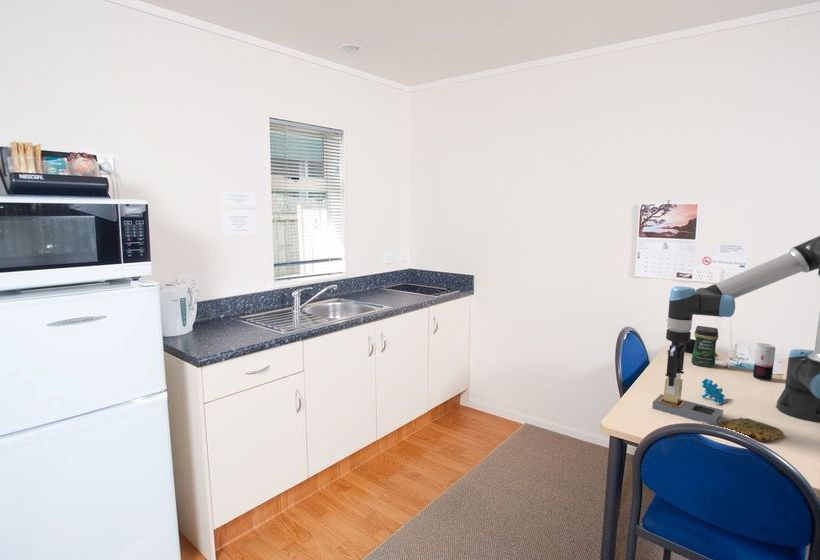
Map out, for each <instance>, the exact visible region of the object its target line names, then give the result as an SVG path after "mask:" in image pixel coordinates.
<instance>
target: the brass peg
mask: <svg viewBox="0 0 820 560" xmlns="http://www.w3.org/2000/svg"><path fill="white" fill-rule="evenodd" d="M667 382H668V377H667V378H665V380H664V390H663V391H664V392H663V395H664V400H663V402H666V403H670V404H673V405H677V406H679V405H680V402H681V400H682V391H683V382H684V381H683V379H682V378H681V379H678V378H677V382H676V392H675V395H671V394H667V393H666V392H667Z"/></svg>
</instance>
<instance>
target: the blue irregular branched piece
mask: <svg viewBox="0 0 820 560" xmlns="http://www.w3.org/2000/svg"><path fill="white" fill-rule="evenodd" d="M701 383H702V384H701V387H702V388H703V389H704V394H702V395H701V397H702V398H703V399H704V398H706V397H709V399H710V400H712V399H713V398H714V399H713V402H714V403H719V404H723V403H724V402H725V401H726V399H725V394H724V393H722V392H723V390H724V389H723V387H720V388H718V387H719V385H718V383H714V381H713V380H712V379H708V378H704V379H703V380H702V381H701Z"/></svg>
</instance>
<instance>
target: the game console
mask: <svg viewBox="0 0 820 560" xmlns="http://www.w3.org/2000/svg"><path fill="white" fill-rule="evenodd" d="M684 344H686V347H685V353H686V354H690V353H691V354H692V355H693V351H694V346H695V339H692V338H690V342H688V343H684ZM716 356H717V352H715V357H716Z"/></svg>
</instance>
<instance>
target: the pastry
mask: <svg viewBox="0 0 820 560" xmlns="http://www.w3.org/2000/svg"><path fill="white" fill-rule="evenodd" d="M720 426H721V428H723V427H725V428H728V429H731V430H735V431H736V432H739V433H742V434H744V435H747V436H749V437H751V438H750V439H752V438H753V439H752V440H754V439H755V440H754V441H756V440H757V441H756V442H769V441H770V442H771V441H772V442H773V441H775V440H780V439H784V437H785V434H784V431H782V430H781V429H779V428H778V427H776V426H773V425H770V424H767V423H764V422H760V421H756V420H753V419H751V418H743V417H740V418H734V419H731V420H727V421H725V420H724V421H721V423H720Z"/></svg>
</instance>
